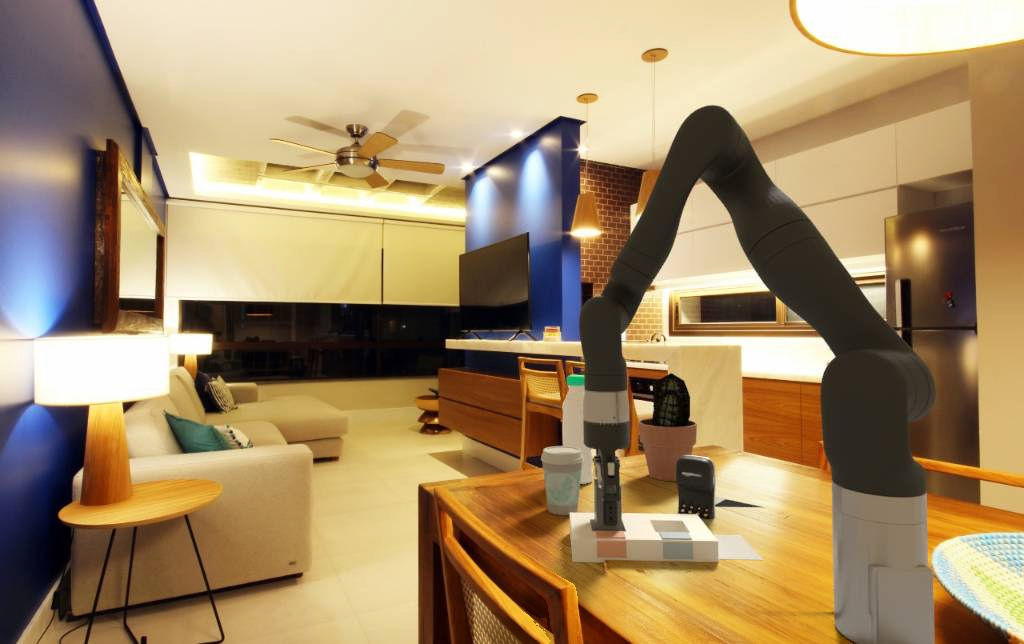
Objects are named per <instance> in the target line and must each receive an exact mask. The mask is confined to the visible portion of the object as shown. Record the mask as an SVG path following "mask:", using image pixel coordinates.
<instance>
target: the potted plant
mask: <svg viewBox="0 0 1024 644" xmlns="http://www.w3.org/2000/svg"><path fill="white" fill-rule="evenodd" d="M652 400H653V401H652V402H653V405H652V408H653V411H652V417H651V418H650V417H649V418H643V419H640V420H638V432H639V442H640V443H642V445H643V452H644V456H645V460H646V461H645V462H646V465H647V470H648V471H647V472H648V475H649V476H650V477H651V478H652V479H655V480H658V481H663V482H664V481H665V482H676V462H677V460H678V459H679V458H680V457H681V456H683V455H693V448H694V446H695V445H696V444H697V434H698V433H697V431H698V423H696V421H694V420H690V417H691V395H690V393H689V390H688V387H687V385H686V382H685V380H684V379H683V378H681V377H678V376H677V375H675V374H673V373H672V372H671V373H669V374H667V375H664V376H663V377H661V378H659V379H658V380H657V384H656V385H655V389H654V392H653V394H652Z"/></svg>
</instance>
